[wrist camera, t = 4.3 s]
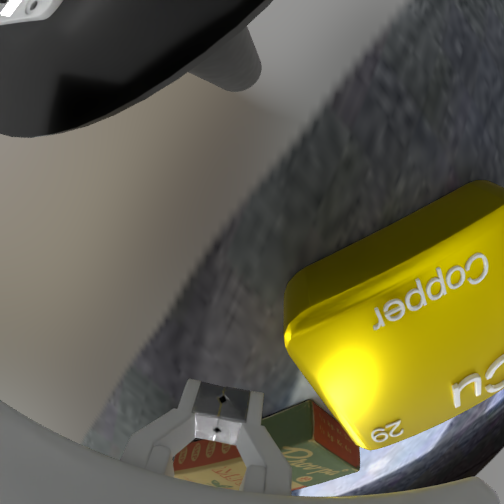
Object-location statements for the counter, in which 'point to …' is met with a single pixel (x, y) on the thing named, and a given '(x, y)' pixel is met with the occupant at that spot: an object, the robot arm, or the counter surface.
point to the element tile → (406, 319)
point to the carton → (290, 444)
